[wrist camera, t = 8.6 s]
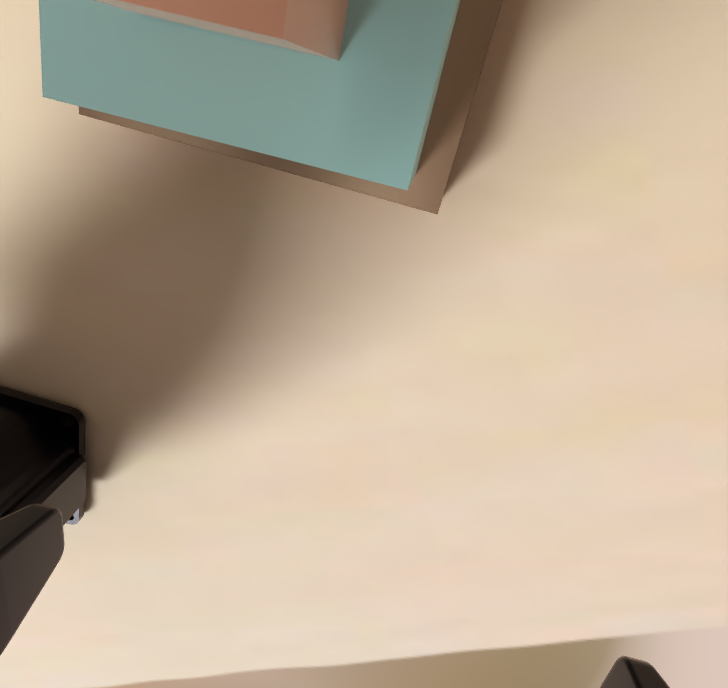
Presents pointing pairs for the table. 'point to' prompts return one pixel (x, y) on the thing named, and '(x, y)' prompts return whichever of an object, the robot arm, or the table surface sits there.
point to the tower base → (442, 133)
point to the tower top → (261, 82)
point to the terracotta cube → (257, 20)
